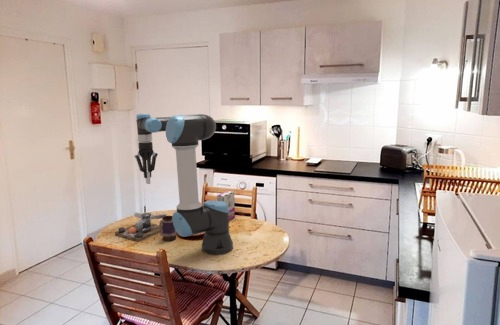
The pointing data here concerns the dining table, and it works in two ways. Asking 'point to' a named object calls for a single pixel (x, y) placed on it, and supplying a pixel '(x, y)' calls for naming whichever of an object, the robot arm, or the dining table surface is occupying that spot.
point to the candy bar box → (228, 202)
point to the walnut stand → (138, 233)
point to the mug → (167, 229)
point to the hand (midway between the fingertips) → (148, 183)
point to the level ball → (132, 230)
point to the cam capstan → (145, 221)
